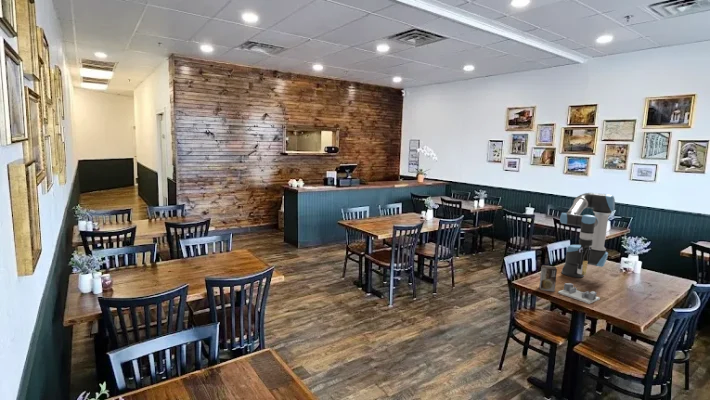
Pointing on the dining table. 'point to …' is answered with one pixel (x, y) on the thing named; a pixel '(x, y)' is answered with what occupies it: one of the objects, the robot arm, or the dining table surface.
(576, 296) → the shaft bench
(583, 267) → the coupler
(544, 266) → the coffee box
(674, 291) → the dining table surface
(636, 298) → the dining table surface
